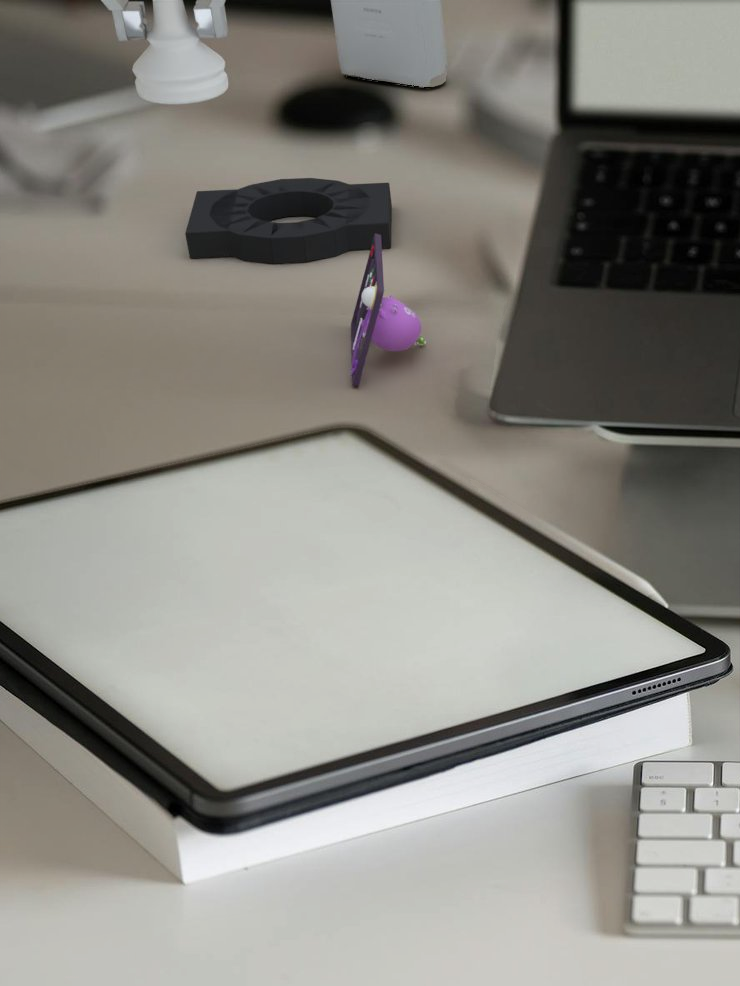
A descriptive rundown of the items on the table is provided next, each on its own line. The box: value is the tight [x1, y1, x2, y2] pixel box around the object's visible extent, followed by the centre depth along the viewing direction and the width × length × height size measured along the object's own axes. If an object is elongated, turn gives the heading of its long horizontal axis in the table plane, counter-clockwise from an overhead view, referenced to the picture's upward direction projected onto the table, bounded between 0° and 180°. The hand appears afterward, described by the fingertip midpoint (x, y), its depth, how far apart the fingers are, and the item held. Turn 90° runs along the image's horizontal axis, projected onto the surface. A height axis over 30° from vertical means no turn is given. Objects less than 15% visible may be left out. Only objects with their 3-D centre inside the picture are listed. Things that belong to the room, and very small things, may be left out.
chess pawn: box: [131, 0, 229, 105], centre depth 95 cm, size 5×5×9 cm
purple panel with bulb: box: [350, 234, 427, 387], centre depth 108 cm, size 7×5×9 cm
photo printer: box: [330, 0, 448, 88], centre depth 152 cm, size 10×4×12 cm, turn 69°
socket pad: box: [185, 177, 393, 265], centre depth 125 cm, size 14×11×2 cm
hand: (174, 37), depth 95 cm, fingers closed on chess pawn, 3 cm apart
